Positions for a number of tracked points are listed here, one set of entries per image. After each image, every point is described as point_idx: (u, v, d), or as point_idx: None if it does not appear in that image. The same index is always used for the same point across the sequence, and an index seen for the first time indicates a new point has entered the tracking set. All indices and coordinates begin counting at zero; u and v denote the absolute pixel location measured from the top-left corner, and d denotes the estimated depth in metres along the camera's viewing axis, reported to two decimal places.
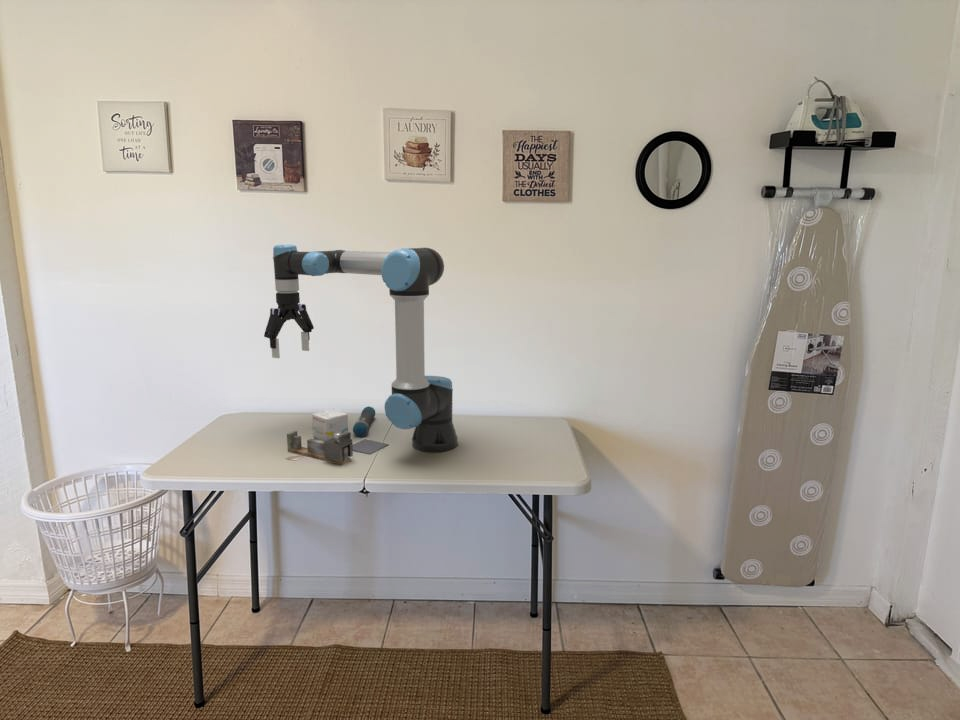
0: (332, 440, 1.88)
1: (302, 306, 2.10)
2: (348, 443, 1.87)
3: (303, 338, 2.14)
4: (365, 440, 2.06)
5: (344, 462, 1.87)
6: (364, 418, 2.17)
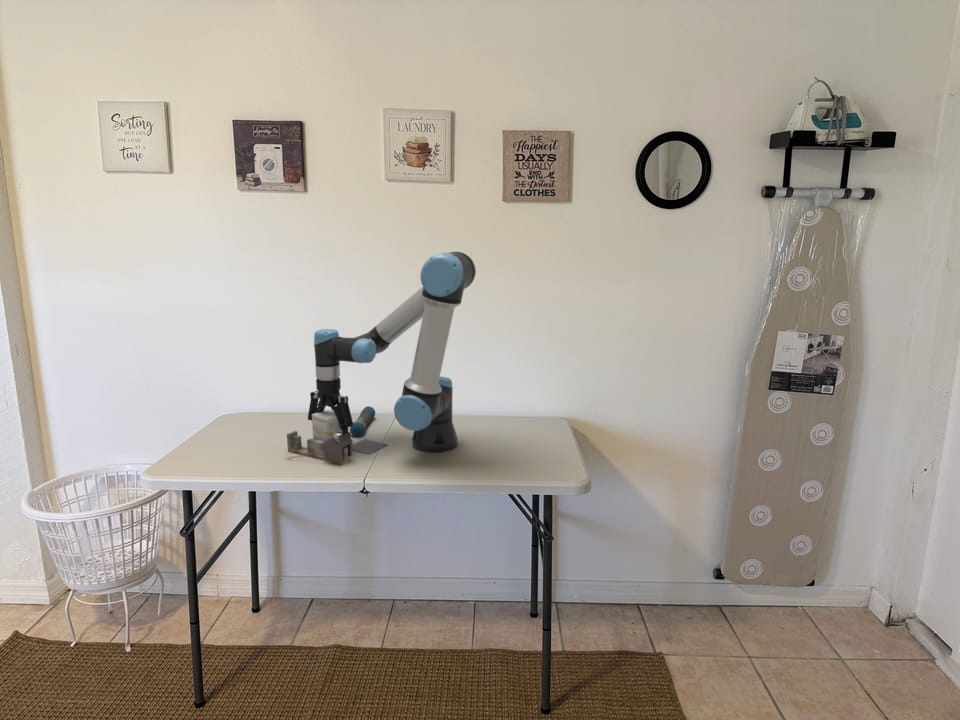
0: (332, 440, 1.88)
1: None
2: (348, 443, 1.87)
3: None
4: (365, 440, 2.06)
5: (344, 462, 1.87)
6: (362, 418, 2.17)
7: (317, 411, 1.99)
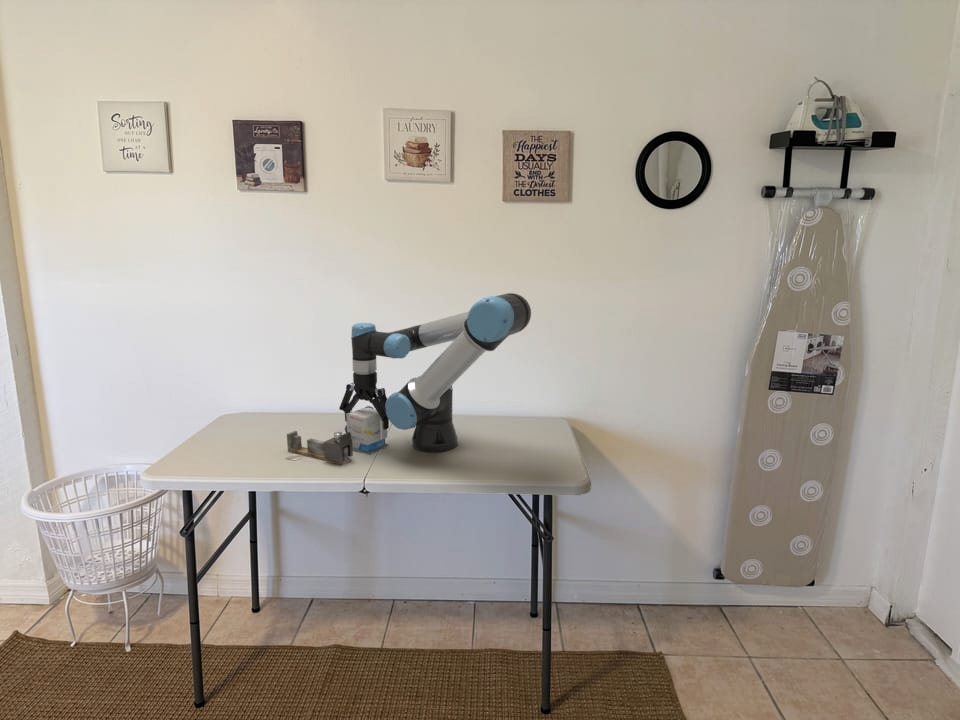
0: (332, 440, 1.88)
1: None
2: (348, 443, 1.87)
3: None
4: None
5: (344, 462, 1.87)
6: None
7: (351, 403, 1.99)
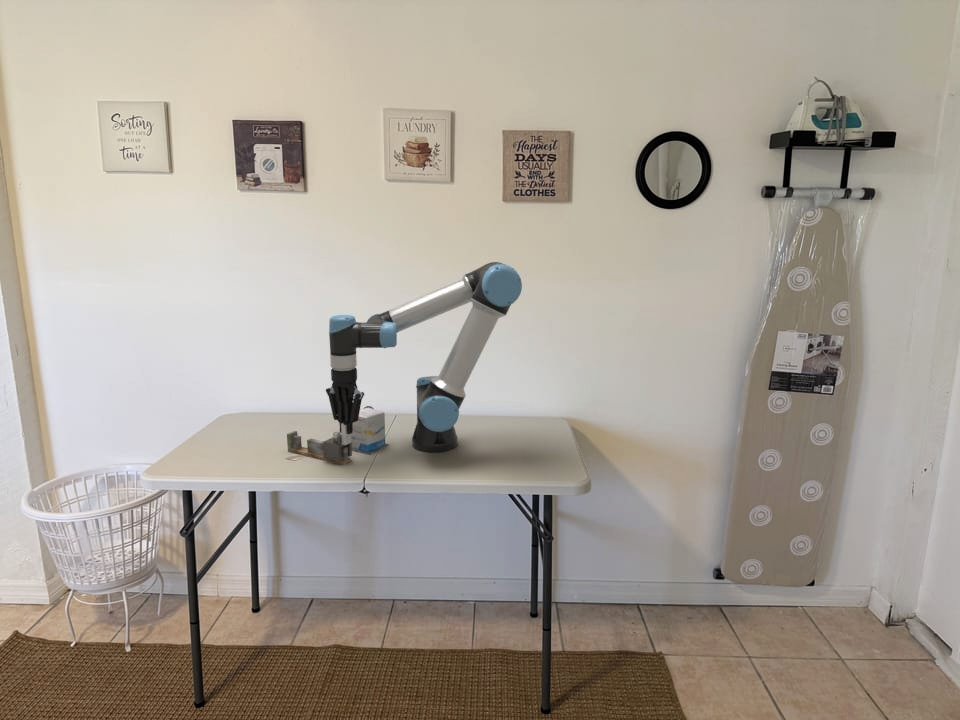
0: (331, 440, 1.88)
1: (357, 394, 1.79)
2: None
3: None
4: None
5: (344, 462, 1.87)
6: None
7: (339, 408, 1.83)
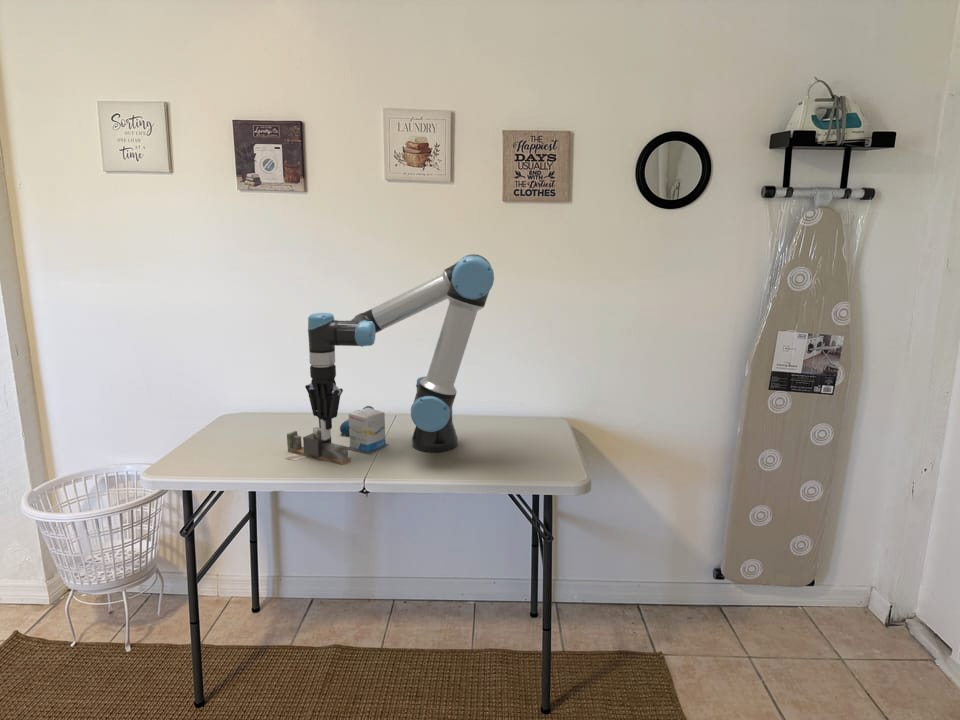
0: (311, 435, 1.91)
1: None
2: None
3: None
4: None
5: (344, 462, 1.87)
6: None
7: (318, 404, 1.87)
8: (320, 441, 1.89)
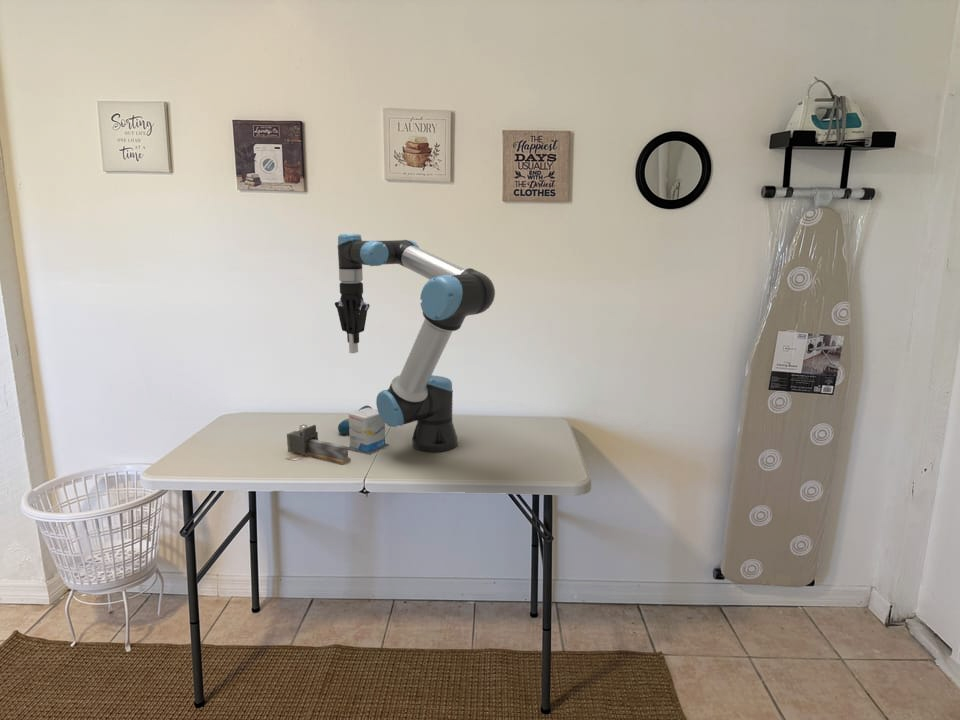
0: (298, 433, 1.94)
1: (363, 305, 1.99)
2: (313, 435, 1.94)
3: None
4: None
5: (344, 462, 1.87)
6: None
7: (347, 319, 2.02)
8: (306, 438, 1.91)
